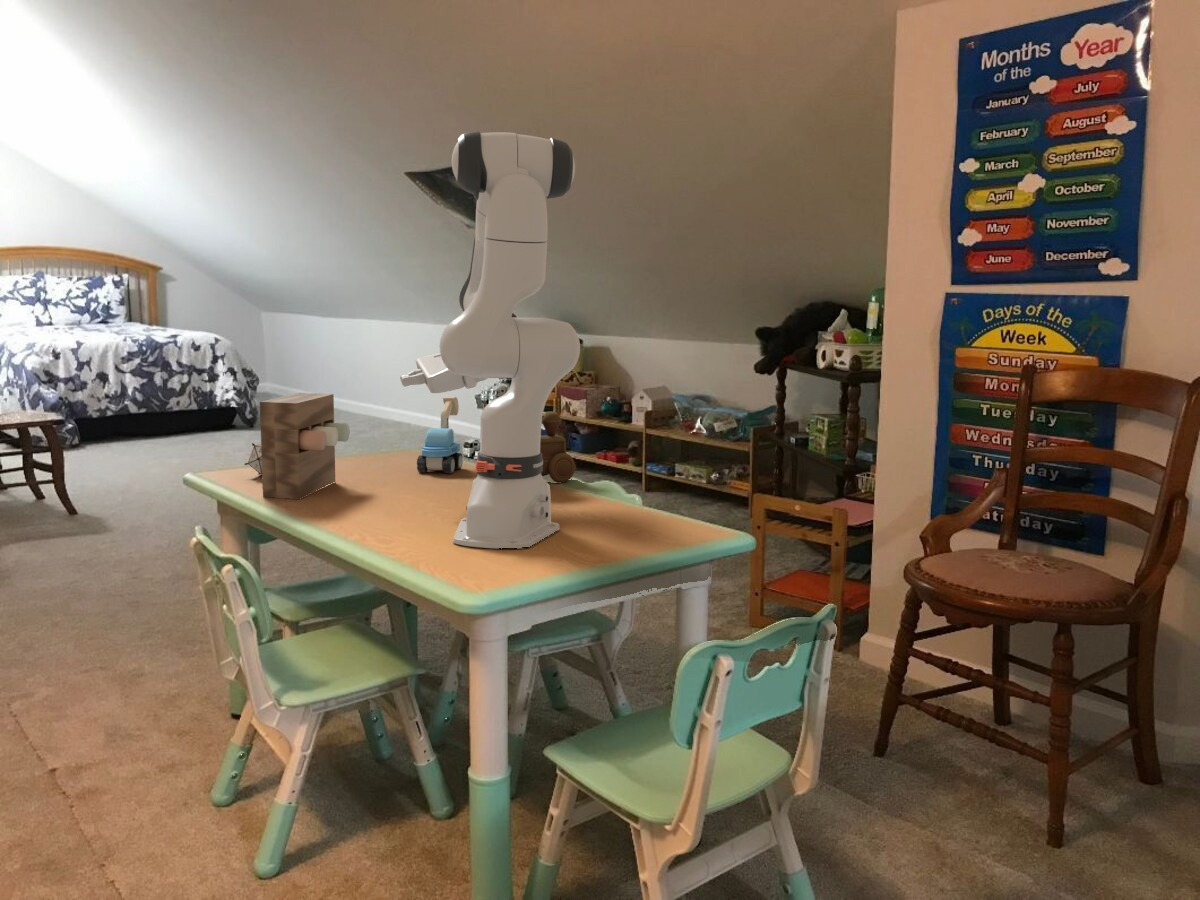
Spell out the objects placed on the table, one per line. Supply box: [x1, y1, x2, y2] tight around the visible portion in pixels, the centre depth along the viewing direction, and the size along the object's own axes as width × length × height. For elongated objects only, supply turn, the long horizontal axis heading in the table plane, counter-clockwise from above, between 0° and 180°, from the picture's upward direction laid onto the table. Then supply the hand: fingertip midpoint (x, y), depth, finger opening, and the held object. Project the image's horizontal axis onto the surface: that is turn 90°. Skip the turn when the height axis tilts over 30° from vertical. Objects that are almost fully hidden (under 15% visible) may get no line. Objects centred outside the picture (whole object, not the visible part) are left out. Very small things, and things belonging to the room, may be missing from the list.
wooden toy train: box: [540, 411, 577, 484], centre depth 226 cm, size 20×11×17 cm, turn 123°
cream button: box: [311, 426, 339, 447], centre depth 210 cm, size 6×4×4 cm, turn 81°
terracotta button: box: [298, 430, 326, 450], centre depth 204 cm, size 6×4×4 cm, turn 81°
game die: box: [243, 442, 262, 479], centre depth 226 cm, size 9×8×10 cm
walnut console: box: [259, 392, 336, 500], centre depth 211 cm, size 8×18×20 cm, turn 171°
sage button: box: [323, 422, 350, 443], centre depth 216 cm, size 6×4×4 cm, turn 81°
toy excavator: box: [416, 396, 464, 474], centre depth 239 cm, size 9×17×17 cm, turn 170°
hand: (401, 381), depth 208 cm, fingers closed
